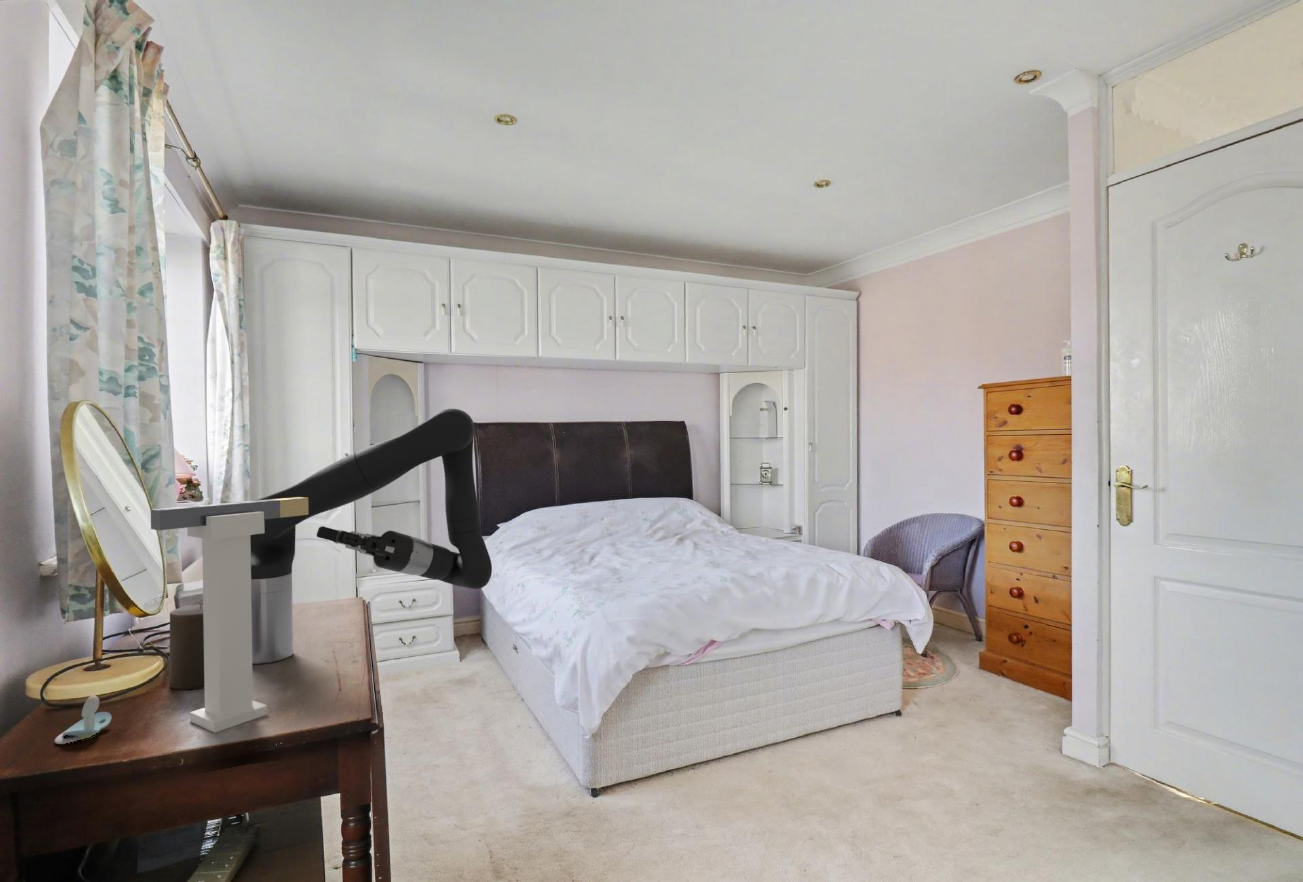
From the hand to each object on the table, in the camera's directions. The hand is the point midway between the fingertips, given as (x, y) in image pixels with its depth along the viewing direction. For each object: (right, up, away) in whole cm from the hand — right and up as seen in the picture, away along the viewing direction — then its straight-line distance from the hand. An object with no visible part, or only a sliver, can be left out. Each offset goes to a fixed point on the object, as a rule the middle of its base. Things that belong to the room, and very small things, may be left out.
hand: (328, 533), depth 127 cm
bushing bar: (-8, +4, -15) cm, 17 cm away
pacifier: (-27, -29, -22) cm, 45 cm away
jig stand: (-9, -28, -16) cm, 33 cm away
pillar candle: (-25, -28, +1) cm, 37 cm away
